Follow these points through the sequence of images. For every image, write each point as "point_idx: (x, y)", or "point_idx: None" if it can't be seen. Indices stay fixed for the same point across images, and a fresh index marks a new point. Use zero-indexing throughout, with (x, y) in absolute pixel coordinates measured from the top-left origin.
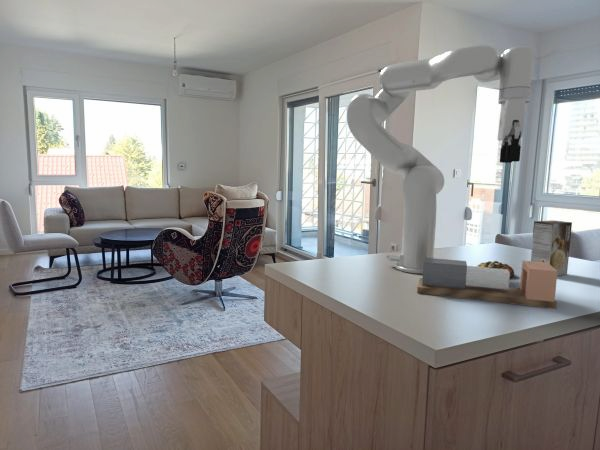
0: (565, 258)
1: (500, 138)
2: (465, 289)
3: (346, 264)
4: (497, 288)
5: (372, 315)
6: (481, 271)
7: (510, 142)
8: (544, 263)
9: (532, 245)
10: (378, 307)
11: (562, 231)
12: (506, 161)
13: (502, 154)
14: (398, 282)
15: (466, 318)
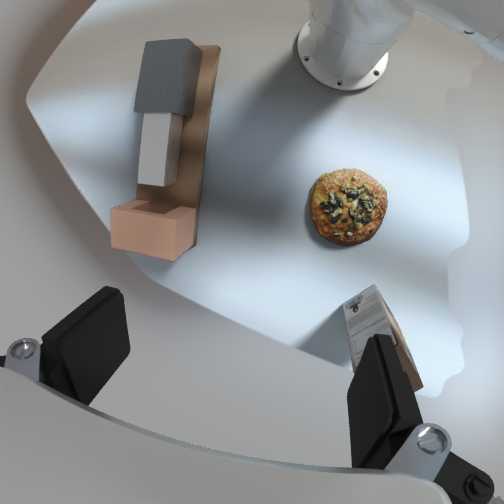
0: None
1: (101, 416)
2: None
3: None
4: (180, 169)
5: (73, 30)
6: (142, 137)
7: (13, 354)
8: (162, 251)
9: (384, 312)
10: (94, 26)
11: None
12: (356, 370)
13: (375, 383)
14: (218, 18)
15: (78, 116)
